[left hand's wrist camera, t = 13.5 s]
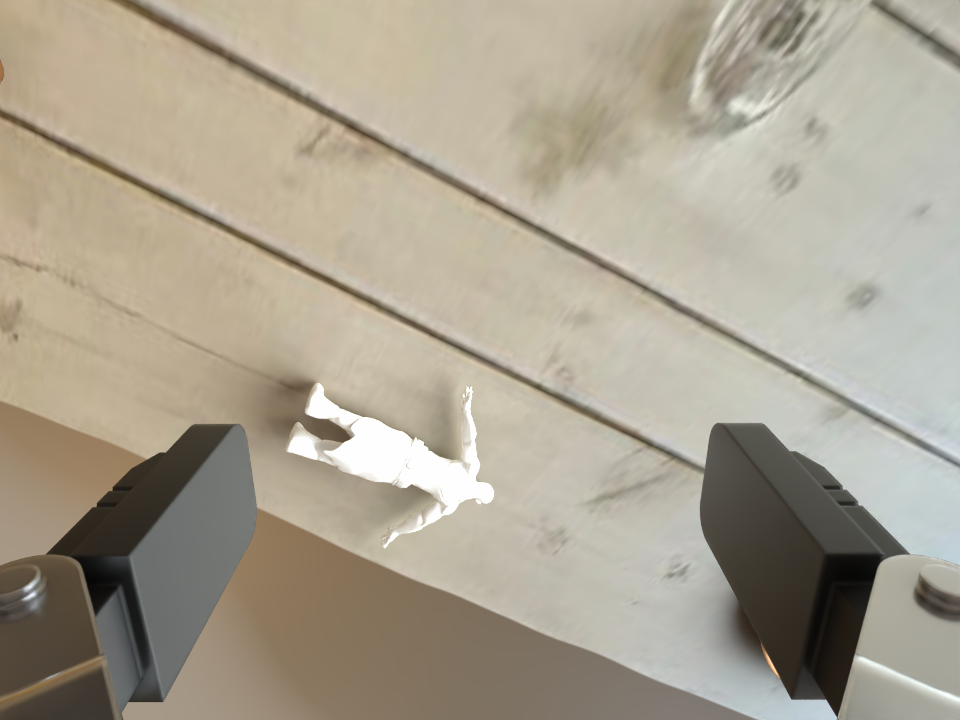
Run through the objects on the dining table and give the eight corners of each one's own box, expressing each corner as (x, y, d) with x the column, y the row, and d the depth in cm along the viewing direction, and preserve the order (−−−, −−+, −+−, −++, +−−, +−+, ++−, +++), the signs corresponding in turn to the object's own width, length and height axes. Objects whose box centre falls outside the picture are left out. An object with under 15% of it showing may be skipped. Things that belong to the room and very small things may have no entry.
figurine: (265, 482, 57) (445, 546, 62) (253, 518, 52) (449, 584, 57) (344, 317, 51) (533, 401, 56) (338, 340, 47) (546, 430, 52)
